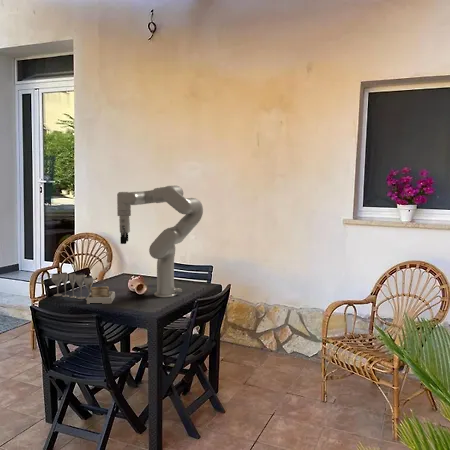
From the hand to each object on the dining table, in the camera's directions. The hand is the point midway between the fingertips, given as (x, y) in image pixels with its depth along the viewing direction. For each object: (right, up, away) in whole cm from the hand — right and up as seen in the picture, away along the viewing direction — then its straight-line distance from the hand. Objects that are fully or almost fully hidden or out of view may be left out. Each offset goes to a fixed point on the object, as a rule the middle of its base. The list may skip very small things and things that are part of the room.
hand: (124, 242), depth 265 cm
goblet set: (-25, -30, -14) cm, 41 cm away
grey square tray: (-8, -30, -20) cm, 37 cm away
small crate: (-9, -30, -21) cm, 37 cm away
